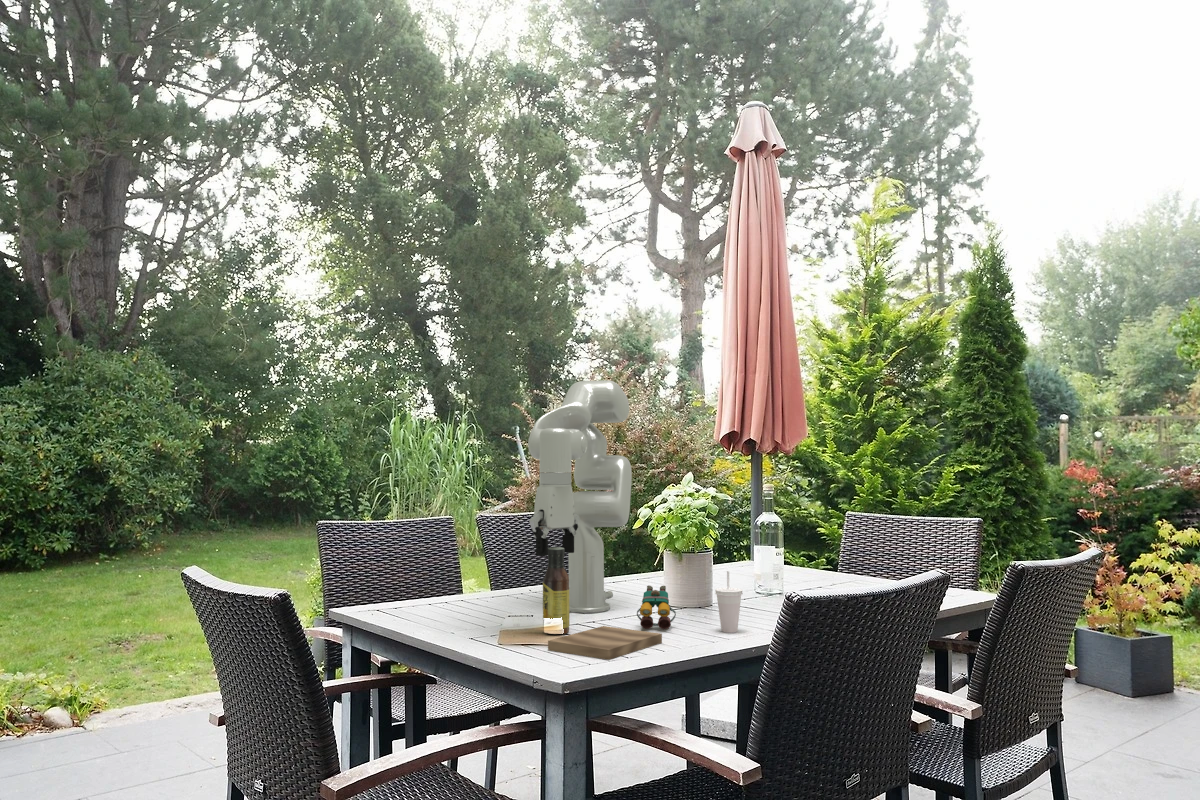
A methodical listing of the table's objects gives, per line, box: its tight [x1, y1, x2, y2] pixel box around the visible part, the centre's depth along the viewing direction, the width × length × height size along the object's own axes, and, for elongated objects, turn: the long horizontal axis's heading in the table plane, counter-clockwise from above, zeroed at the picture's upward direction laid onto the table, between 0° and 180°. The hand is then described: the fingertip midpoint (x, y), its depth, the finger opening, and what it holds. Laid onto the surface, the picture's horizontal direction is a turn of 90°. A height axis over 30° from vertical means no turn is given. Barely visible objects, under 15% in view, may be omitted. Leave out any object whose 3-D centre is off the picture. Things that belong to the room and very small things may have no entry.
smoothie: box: [714, 570, 744, 634], centre depth 212 cm, size 6×6×14 cm
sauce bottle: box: [542, 546, 571, 635], centre depth 211 cm, size 6×6×20 cm
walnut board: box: [547, 625, 663, 661], centre depth 196 cm, size 20×16×2 cm
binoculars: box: [636, 585, 677, 630], centre depth 217 cm, size 9×9×10 cm
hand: (555, 554), depth 211 cm, fingers open, 9 cm apart
